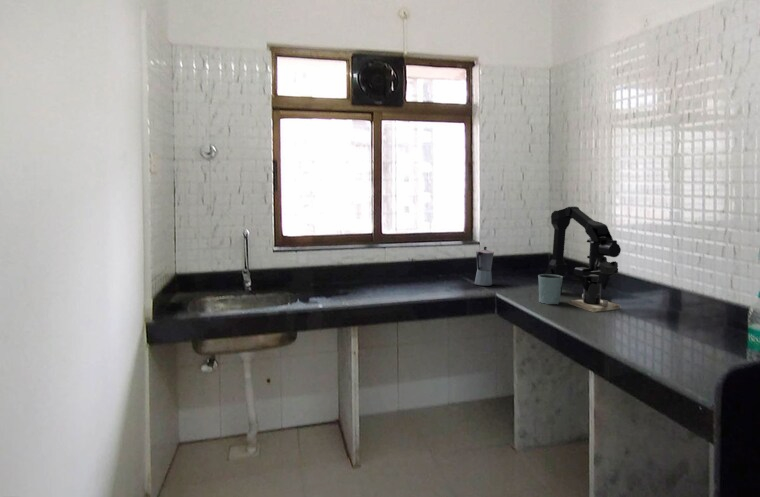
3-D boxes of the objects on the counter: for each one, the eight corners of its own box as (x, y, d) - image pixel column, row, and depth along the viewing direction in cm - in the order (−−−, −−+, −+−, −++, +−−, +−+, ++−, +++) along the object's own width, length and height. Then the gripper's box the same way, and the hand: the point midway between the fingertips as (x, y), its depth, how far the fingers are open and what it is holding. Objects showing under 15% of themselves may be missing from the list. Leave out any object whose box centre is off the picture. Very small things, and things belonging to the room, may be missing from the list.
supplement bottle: (601, 305, 206) (603, 277, 204) (584, 304, 207) (585, 276, 206) (598, 301, 212) (600, 274, 211) (581, 300, 214) (583, 273, 212)
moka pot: (497, 283, 261) (498, 245, 258) (487, 288, 248) (487, 249, 245) (480, 281, 266) (480, 244, 263) (469, 286, 253) (469, 248, 250)
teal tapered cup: (532, 301, 220) (533, 274, 219) (550, 298, 224) (551, 273, 223) (548, 306, 211) (549, 278, 210) (566, 303, 215) (567, 276, 214)
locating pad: (593, 311, 201) (593, 302, 201) (569, 304, 214) (570, 295, 214) (620, 308, 206) (620, 299, 205) (595, 301, 219) (595, 292, 218)
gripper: (593, 258, 197) (591, 296, 199) (629, 255, 203) (627, 292, 205) (573, 254, 207) (572, 290, 209) (608, 251, 213) (606, 287, 215)
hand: (595, 290), depth 209 cm, fingers open, 9 cm apart
